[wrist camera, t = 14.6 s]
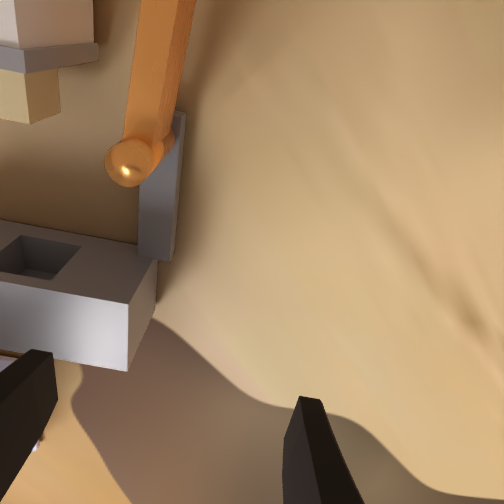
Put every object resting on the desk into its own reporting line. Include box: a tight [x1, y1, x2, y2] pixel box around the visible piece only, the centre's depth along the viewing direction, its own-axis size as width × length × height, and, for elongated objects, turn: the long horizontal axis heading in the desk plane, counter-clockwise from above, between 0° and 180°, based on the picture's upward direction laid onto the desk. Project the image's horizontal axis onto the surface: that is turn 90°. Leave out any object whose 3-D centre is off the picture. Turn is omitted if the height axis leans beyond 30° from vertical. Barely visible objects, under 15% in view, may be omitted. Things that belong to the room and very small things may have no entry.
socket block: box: [0, 110, 187, 371], centre depth 17 cm, size 11×11×5 cm
